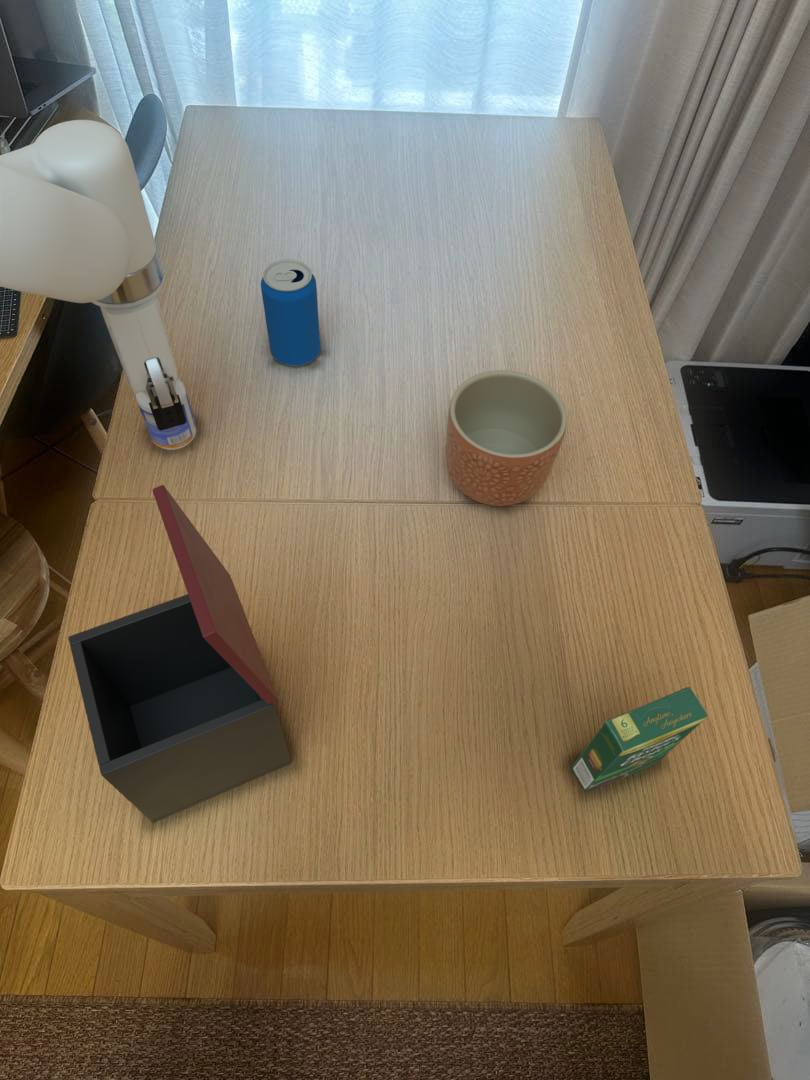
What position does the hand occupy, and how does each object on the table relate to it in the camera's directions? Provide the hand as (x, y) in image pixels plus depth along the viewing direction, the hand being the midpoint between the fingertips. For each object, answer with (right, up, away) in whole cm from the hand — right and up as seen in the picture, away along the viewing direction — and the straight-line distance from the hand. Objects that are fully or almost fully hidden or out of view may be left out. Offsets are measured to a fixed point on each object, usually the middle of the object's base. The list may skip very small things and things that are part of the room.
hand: (164, 405), depth 83 cm
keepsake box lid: (+14, -20, -32) cm, 40 cm away
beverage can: (+13, +9, +13) cm, 20 cm away
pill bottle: (0, -3, +4) cm, 5 cm away
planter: (+37, -8, +3) cm, 38 cm away
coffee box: (+46, -36, -15) cm, 61 cm away
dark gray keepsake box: (+9, -33, -15) cm, 37 cm away
